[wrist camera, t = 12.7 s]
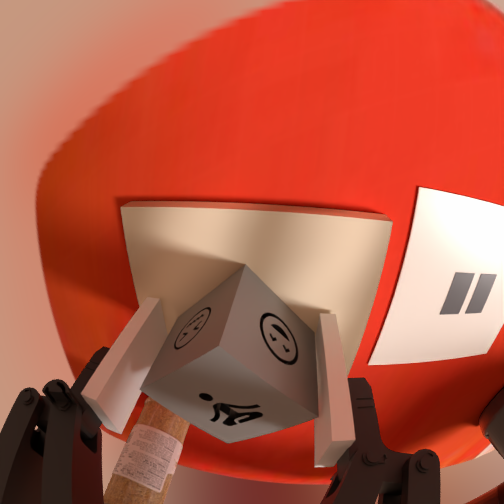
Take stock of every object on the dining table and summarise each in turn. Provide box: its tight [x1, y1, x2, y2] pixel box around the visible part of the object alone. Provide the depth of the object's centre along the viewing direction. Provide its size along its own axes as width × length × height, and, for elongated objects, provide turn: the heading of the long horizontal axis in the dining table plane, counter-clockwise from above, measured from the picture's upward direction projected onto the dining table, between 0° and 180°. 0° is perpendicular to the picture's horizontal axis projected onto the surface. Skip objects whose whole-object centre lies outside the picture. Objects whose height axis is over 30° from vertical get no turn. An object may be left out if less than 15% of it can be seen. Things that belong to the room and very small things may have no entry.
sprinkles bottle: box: [103, 397, 190, 504], centre depth 14 cm, size 5×5×13 cm
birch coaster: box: [120, 201, 393, 376], centre depth 14 cm, size 12×12×1 cm
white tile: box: [368, 187, 504, 365], centre depth 12 cm, size 11×11×1 cm
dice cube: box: [139, 264, 319, 443], centre depth 11 cm, size 5×5×5 cm
